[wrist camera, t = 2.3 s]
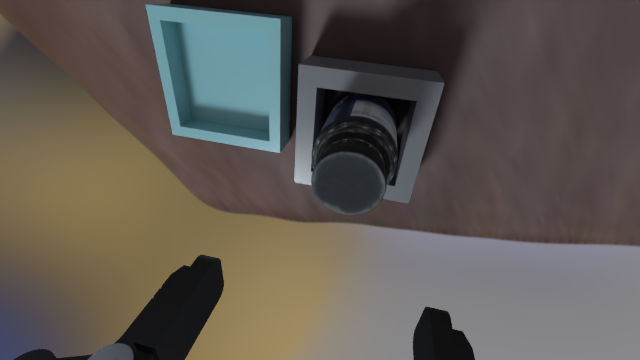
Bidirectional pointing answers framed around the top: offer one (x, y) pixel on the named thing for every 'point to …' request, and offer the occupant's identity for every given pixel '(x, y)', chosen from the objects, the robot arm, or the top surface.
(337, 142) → the pill bottle
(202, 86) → the tray
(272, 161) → the top surface
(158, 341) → the robot arm
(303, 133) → the holder
